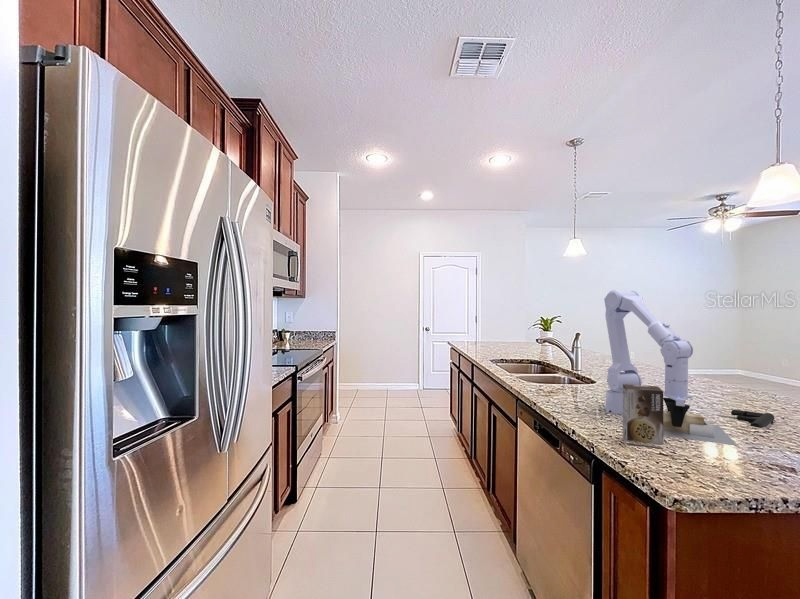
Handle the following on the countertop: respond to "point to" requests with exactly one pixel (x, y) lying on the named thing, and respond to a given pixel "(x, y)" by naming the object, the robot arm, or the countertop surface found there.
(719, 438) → the board
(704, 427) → the end cap
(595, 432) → the countertop surface
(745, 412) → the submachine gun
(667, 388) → the robot arm
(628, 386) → the coffee box
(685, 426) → the slat
